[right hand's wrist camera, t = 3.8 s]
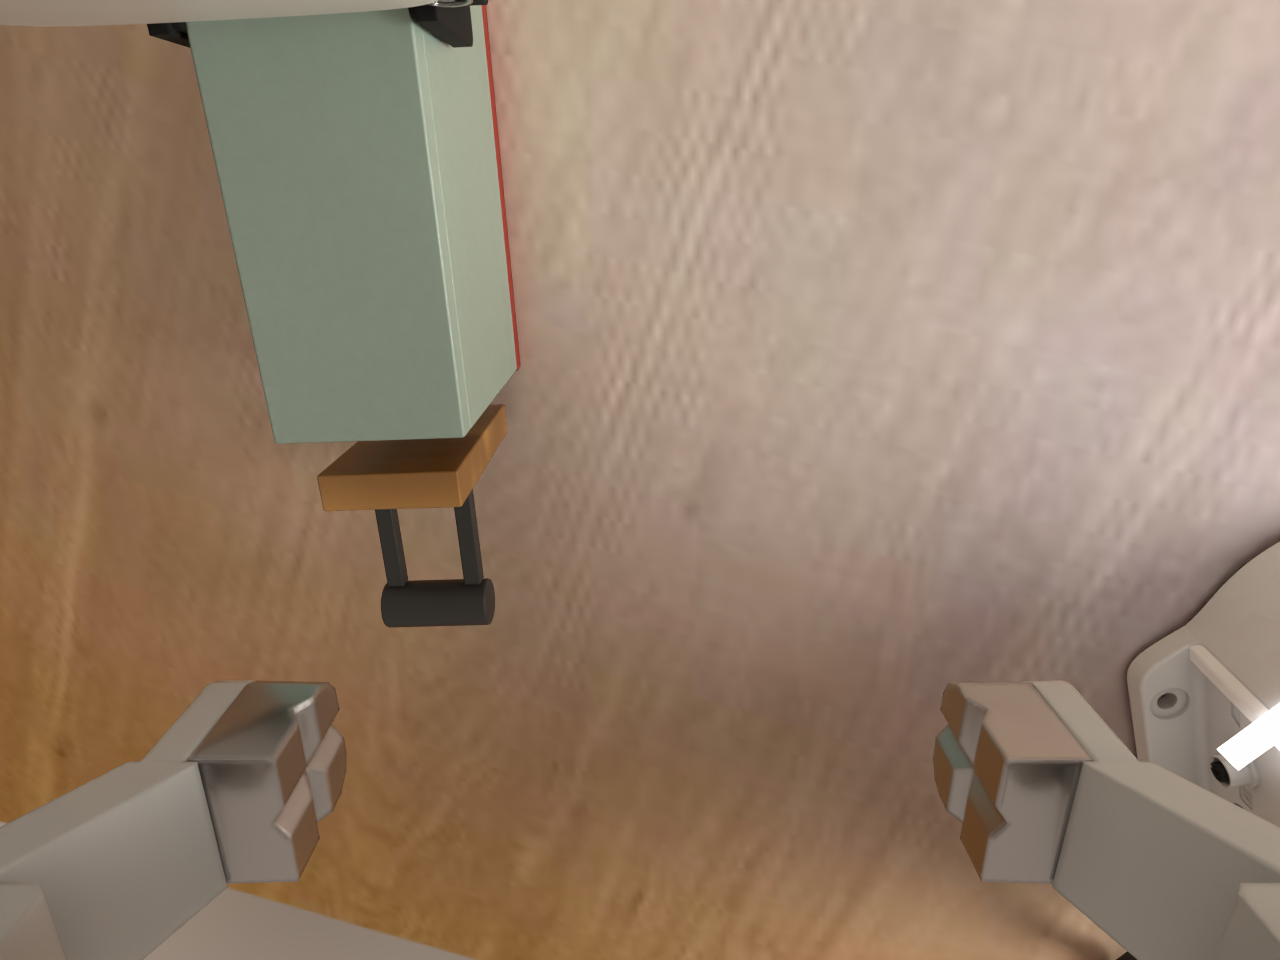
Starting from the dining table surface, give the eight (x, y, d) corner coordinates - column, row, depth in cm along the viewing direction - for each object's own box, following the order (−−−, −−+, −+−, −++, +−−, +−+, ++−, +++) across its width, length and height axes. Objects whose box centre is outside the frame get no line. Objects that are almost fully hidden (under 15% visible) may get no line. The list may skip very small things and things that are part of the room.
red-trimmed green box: (520, 366, 32) (465, 439, 22) (383, 371, 32) (273, 445, 23) (472, -138, 26) (371, -317, 17) (305, -128, 26) (113, -301, 17)
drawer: (521, 562, 34) (483, 669, 26) (421, 565, 34) (354, 671, 26) (460, -15, 26) (383, -97, 19) (332, -9, 26) (204, -86, 19)
